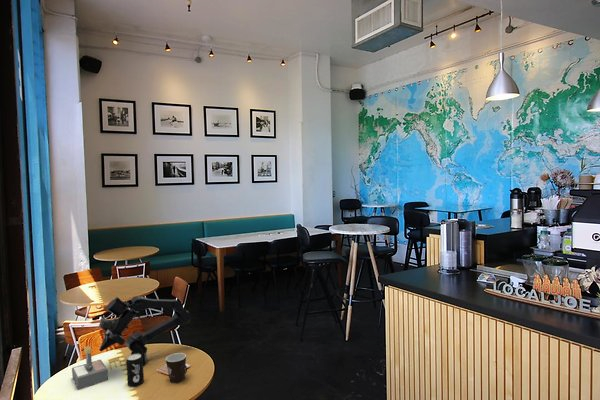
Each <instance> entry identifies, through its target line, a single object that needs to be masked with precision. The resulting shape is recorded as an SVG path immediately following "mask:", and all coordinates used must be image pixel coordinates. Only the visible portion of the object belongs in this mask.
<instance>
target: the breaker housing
mask: <svg viewBox="0 0 600 400" xmlns="http://www.w3.org/2000/svg"><path fill="white" fill-rule="evenodd" d="M92 367H93V368H92V369H91V370H89V369H88V367H87V365H86V363H85V364H84V363H83V364H81V365H77V366H74V367H72V368H71V373H72V375H71V376H72V380H73V383H74V384H75V386H76V388H77V390H79V391H81V390H83V389H86V388H88V387H91V386H95V385H98V384H101V383H104V382H107V381H109V371H108V368H107V366H106V365H105V364H104V362H103V361H102V359H98V360H93V361H92Z"/></svg>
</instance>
